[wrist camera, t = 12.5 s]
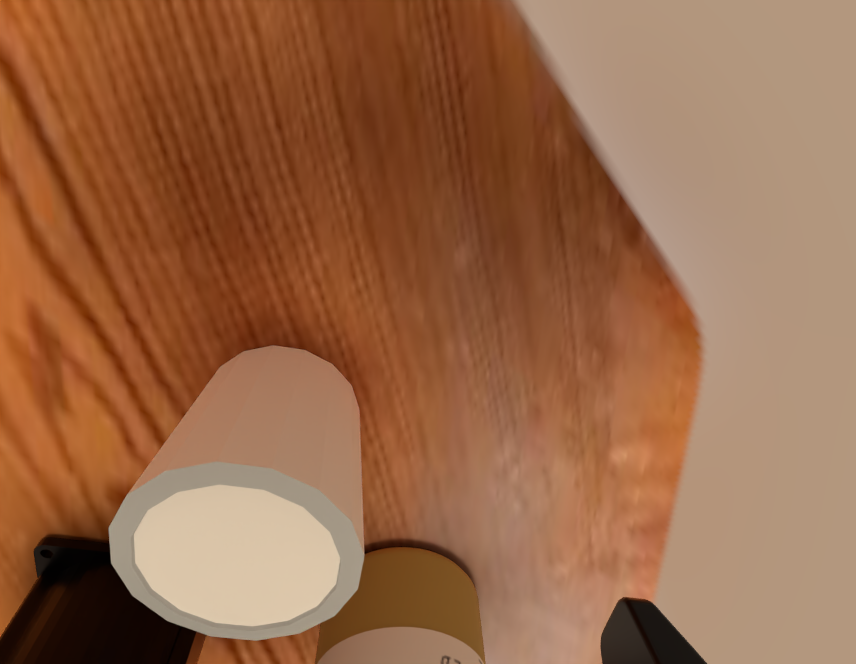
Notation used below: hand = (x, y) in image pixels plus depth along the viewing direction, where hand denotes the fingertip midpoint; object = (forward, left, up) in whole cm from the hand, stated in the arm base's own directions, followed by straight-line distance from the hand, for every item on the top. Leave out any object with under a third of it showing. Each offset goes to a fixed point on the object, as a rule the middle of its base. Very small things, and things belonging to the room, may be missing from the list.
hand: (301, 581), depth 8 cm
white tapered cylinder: (-2, -7, -13) cm, 15 cm away
